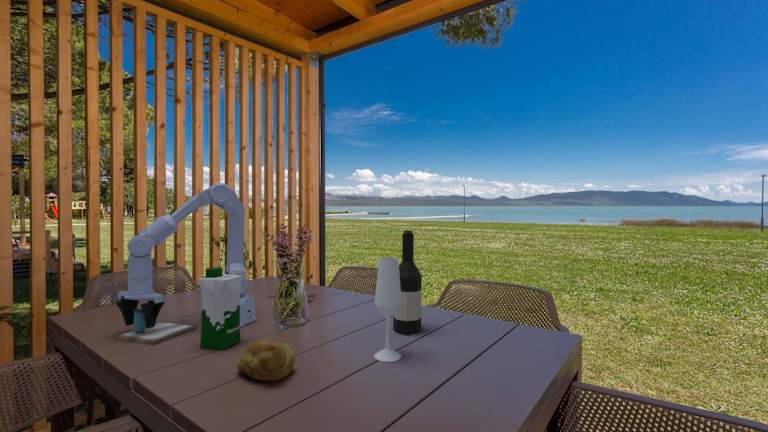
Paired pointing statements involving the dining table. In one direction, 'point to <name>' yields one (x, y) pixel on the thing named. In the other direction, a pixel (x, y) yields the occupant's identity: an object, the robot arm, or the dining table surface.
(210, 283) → the milk carton
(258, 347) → the bread roll
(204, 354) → the dining table surface
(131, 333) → the writing board
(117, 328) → the dining table surface
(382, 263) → the champagne flute
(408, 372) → the dining table surface
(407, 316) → the wine bottle
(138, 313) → the marker
